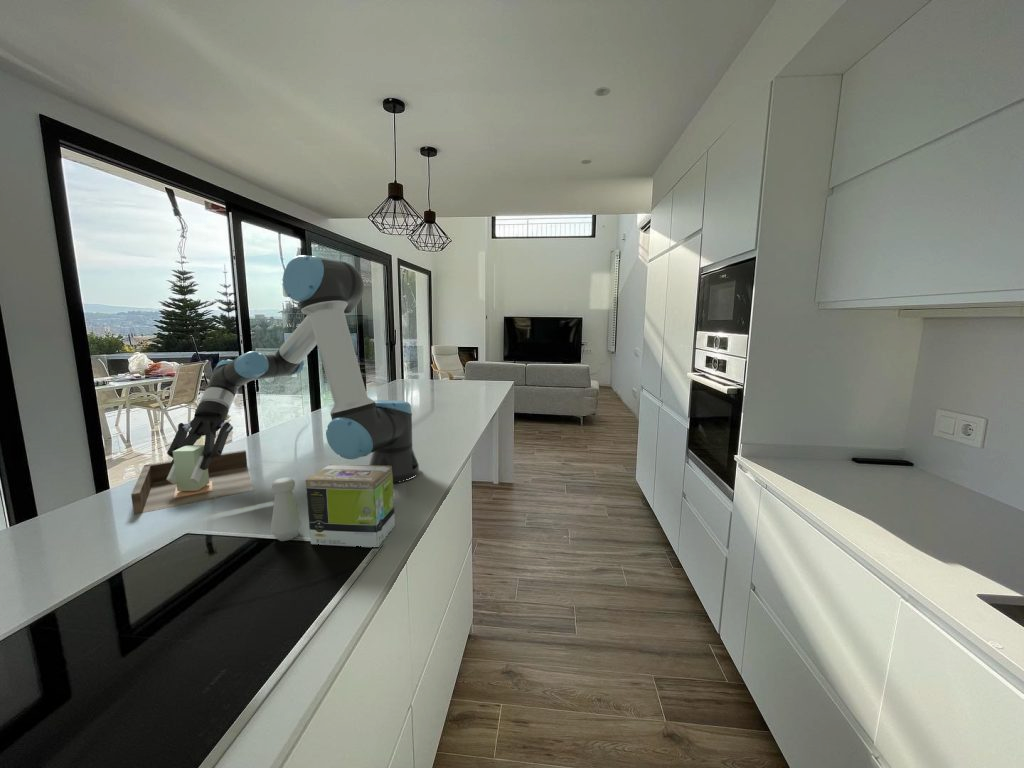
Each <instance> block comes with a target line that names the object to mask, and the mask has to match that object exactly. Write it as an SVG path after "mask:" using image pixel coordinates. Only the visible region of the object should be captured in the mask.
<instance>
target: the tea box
mask: <svg viewBox="0 0 1024 768" xmlns="http://www.w3.org/2000/svg"><path fill="white" fill-rule="evenodd" d="M305 487H306V488H305V489H306V503H307V514H308V527H309V528H308V529H309V535H310V536H309V538H310V544H311V545H318V544H319V545H322V546H337V547H339V546H340V547H341V546H342V547H356V546H359V547H360V546H361V547H360V548H372V547H378V548H379V547H380V546H381V544H382V543H383V542H384V541H385V539H386V538H387V537H388V536H389V534H390V533H391V532H392V530H393V529H394V528H393V527H395V523H396V522H395V499H394V496H395V495H394V483H393V476H392V466H377V465H369V464H367V465H366V464H365V465H364V464H333V463H332V464H329V465H326V467H324V468H322V469H320V470H319V471H318V472H317V471H316V472H315V473H314V474H313V475H311V476H309V477H307V478H306V479H305ZM392 528H393V529H392ZM390 531H391V532H390ZM389 532H390V533H389ZM388 533H389V534H388ZM386 536H387V537H386ZM383 540H384V541H383ZM382 541H383V542H382Z"/></svg>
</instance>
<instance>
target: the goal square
mask: <svg viewBox="0 0 1024 768" xmlns="http://www.w3.org/2000/svg"><path fill="white" fill-rule="evenodd" d="M209 491H212V481H209V484H207V485H206V486H204V487H203V488H201V489H200V490H198V491H177V487H176V489H175V494H174V498H178V497H183V496H188V495H193V494H199V493H204V492H209Z"/></svg>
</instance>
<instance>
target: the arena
mask: <svg viewBox="0 0 1024 768" xmlns="http://www.w3.org/2000/svg"><path fill="white" fill-rule="evenodd" d="M171 462H172V460H171V461H170V460H169V461H163V462H158V463H151V464H144V465H143V467H142V469H141V471H140V474H139V477H138V478H137V480H136V483H135V484H134V487H133V489H132V492H131V494H130V495H131V502H132V510H133V515H140V514H144V513H148V512H154V511H159V510H164V509H168V508H174V507H178V506H179V507H180V506H184V505H188V504H193V503H198V502H203V501H209V500H213V499H218V498H219V499H220V498H223V497H224V498H225V497H229V496H233V495H238V494H243V493H244V494H245V493H248V492H254V491H255V490H254V488H253V483H252V479H251V475H250V472H249V467H248V459H247V451H246V450H245V449H243V450H238V451H230V452H225V453H223V452H222V454H221V456H220V457H214V458H212V459H211V461H210V464H209V466H208V475H209V481H212V491H209V492H204V493H199V494H193V495H188V496H183V497H178V498H174V494H175V489H176V487H177V483H175V484H172V483H171V482H169V481H168V480H166V479H167V477H168V475H169V472H170V470H171V469H169V466H170V464H171Z"/></svg>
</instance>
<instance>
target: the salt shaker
mask: <svg viewBox="0 0 1024 768" xmlns="http://www.w3.org/2000/svg"><path fill="white" fill-rule="evenodd" d="M295 487H296V483H295V480H294V479H293V477H280V478H277V479H275V480H274V481H273V482H272V483H271V491H272V492H273V493H275V494H274V502H273V508H272V509H273V510H272V517H271V525H270V531H271V533H272V535H273V536H274V537H275V539H276V540H278V541H280V542H285V541H291V540H293V539H295V538H296V537H298V536H299V532H300V530H301V527H302V519H301V516H300V512H299V510H298V505H297V504H296V500H295V496H294V493H293V490H294V489H295ZM294 537H295V538H294Z"/></svg>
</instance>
